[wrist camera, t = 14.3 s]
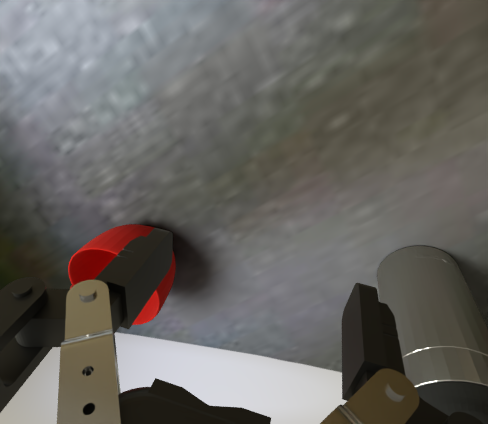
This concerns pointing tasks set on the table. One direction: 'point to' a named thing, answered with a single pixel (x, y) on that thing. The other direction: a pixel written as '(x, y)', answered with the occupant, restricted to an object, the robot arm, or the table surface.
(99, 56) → the table surface
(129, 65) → the table surface
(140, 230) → the ceramic cup
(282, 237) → the table surface
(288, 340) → the table surface
